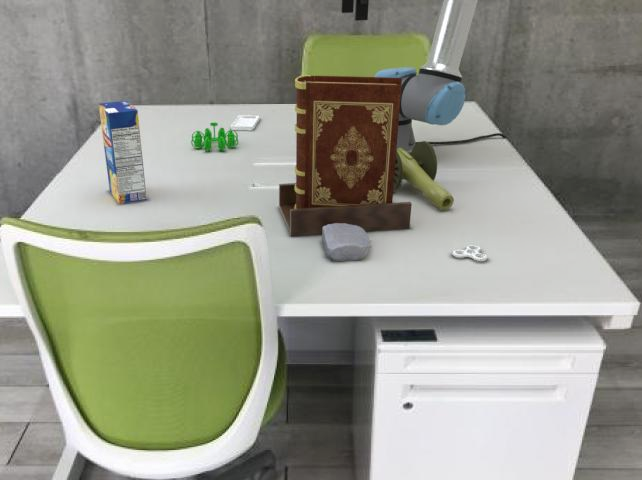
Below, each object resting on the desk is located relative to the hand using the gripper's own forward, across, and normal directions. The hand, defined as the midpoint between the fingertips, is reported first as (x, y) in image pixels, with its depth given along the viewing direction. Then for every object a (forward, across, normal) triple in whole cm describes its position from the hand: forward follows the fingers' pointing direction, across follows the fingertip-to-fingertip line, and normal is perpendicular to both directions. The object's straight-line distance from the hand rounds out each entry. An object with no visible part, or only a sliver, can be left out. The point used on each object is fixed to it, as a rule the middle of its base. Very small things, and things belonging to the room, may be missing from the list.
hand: (354, 16), depth 167 cm
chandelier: (+41, +43, +31) cm, 67 cm away
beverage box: (+41, +3, +56) cm, 69 cm away
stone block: (+41, -39, +9) cm, 57 cm away
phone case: (+41, +67, +19) cm, 81 cm away
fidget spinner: (+41, -46, -15) cm, 63 cm away
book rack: (+41, -21, +6) cm, 46 cm away
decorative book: (+40, -21, +6) cm, 45 cm away
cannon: (+41, -9, -16) cm, 45 cm away
